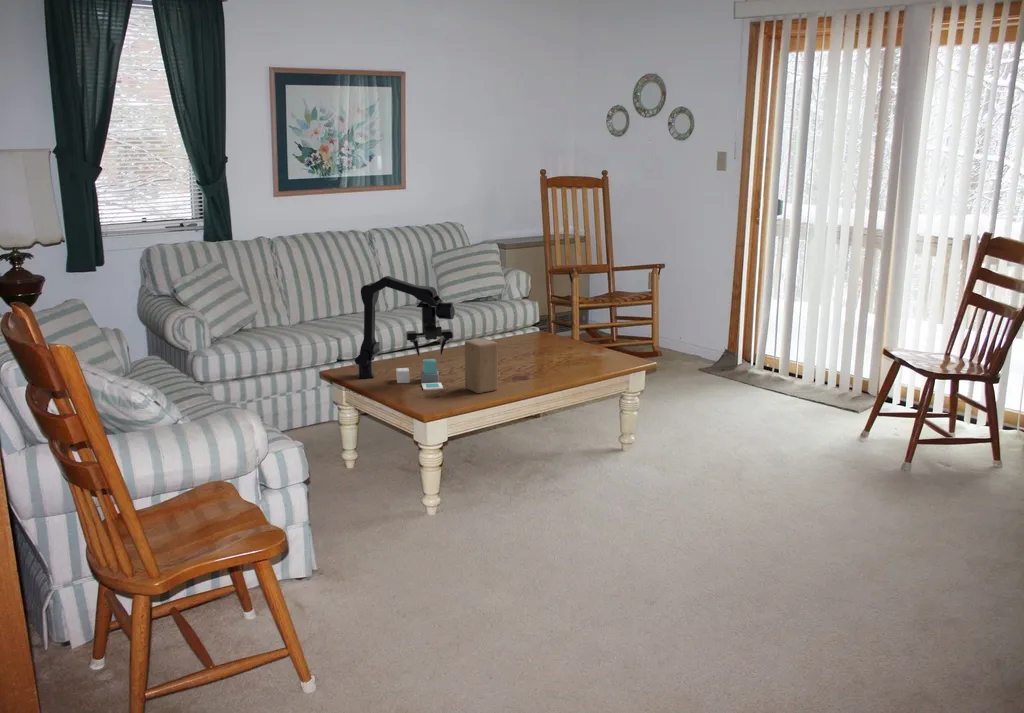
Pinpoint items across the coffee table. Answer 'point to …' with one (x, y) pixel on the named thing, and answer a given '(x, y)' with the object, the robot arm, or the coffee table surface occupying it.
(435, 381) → the slate base block
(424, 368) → the teal block
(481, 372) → the wooden block
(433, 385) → the tile
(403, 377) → the white block
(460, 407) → the coffee table surface
